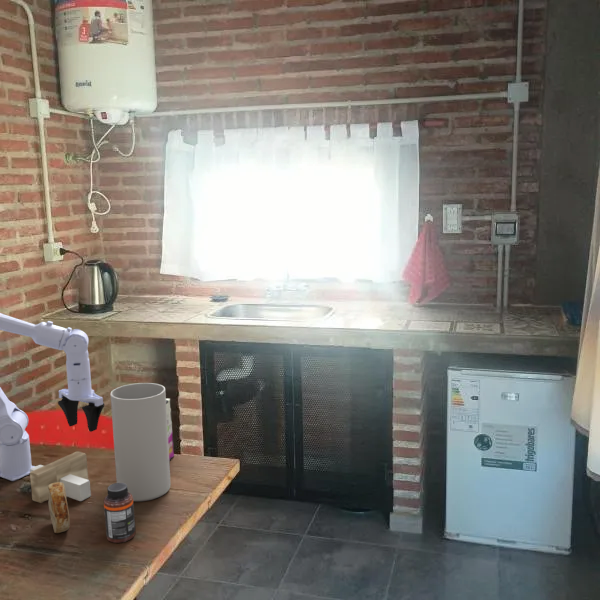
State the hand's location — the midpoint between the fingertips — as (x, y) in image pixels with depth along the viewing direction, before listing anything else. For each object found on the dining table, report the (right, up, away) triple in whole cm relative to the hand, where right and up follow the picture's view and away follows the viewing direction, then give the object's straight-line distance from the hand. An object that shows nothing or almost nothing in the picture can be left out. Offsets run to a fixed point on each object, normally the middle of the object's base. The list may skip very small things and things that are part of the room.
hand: (82, 427), depth 174 cm
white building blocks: (-2, -13, -12) cm, 18 cm away
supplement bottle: (+19, -17, -34) cm, 42 cm away
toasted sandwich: (+5, -16, -30) cm, 34 cm away
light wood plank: (-1, -13, -12) cm, 18 cm away
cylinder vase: (+19, -13, -13) cm, 26 cm away
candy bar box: (+19, -10, +2) cm, 22 cm away
